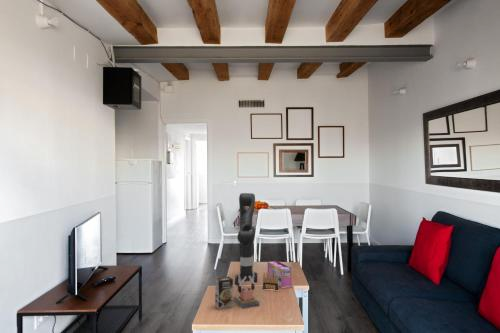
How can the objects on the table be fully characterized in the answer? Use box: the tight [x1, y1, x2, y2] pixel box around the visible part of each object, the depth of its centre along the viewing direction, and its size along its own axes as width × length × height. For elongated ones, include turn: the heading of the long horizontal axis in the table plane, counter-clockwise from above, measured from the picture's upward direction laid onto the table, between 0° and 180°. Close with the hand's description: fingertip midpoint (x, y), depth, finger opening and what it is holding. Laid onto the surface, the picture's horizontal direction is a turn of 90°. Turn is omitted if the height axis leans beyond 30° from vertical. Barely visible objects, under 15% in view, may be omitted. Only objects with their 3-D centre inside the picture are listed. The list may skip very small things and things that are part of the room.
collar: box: [239, 286, 254, 301], centre depth 183 cm, size 6×6×6 cm
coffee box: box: [214, 276, 234, 310], centre depth 178 cm, size 9×6×16 cm
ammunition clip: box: [262, 271, 280, 290], centre depth 205 cm, size 11×2×12 cm, turn 74°
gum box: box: [267, 260, 292, 288], centre depth 219 cm, size 24×8×14 cm, turn 24°
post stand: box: [233, 286, 260, 310], centre depth 183 cm, size 14×11×9 cm
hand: (246, 291), depth 183 cm, fingers open, 8 cm apart
